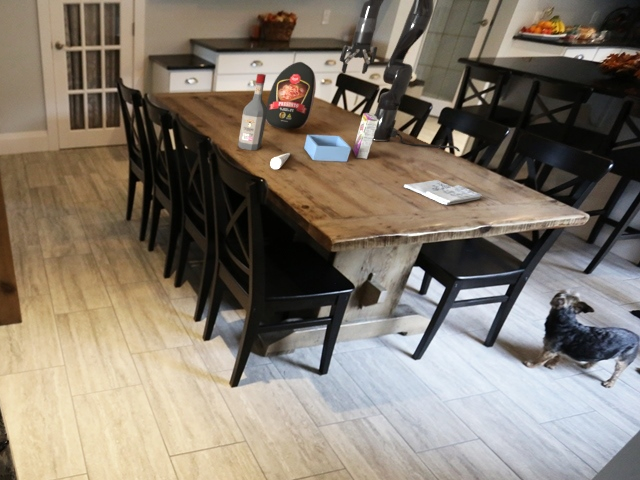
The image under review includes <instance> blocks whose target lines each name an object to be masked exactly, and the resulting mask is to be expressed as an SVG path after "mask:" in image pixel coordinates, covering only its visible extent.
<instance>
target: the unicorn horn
mask: <svg viewBox="0 0 640 480" xmlns="http://www.w3.org/2000/svg"><path fill="white" fill-rule="evenodd" d="M290 155H291V152H287V153H283V154H280V155H277V156H274V157H273V158H271V160H270V163H269V166H270V168H271V169H273V170H275V171H276V170H279V169H280V168H282V166H284V164H285V163H286V161H287V160H288V159H289V157H290Z"/></svg>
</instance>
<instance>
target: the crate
mask: <svg viewBox="0 0 640 480" xmlns="http://www.w3.org/2000/svg"><path fill="white" fill-rule="evenodd" d="M303 149H304V150H305V151H306V154H308V156H309V157H310V158H311V159H312V161H321V162H343V163H344V162H348V159H349V155H350V153H351V149H352V147H351V146H350V145H349V144H348V143H347V142H346V141H345V140H344V139H343V138H342V136H340V135H326V134H325V135H324V134H306V138H305V142H304V148H303Z"/></svg>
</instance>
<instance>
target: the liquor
mask: <svg viewBox="0 0 640 480" xmlns="http://www.w3.org/2000/svg"><path fill="white" fill-rule="evenodd" d="M266 76H267V74H265V73H257V75H256V80H255V87H254V94H253V96H252V99H251V100H250V101H249V103H247V104H246V105H245V106H244V108H243V111H242V118H241V125H240V129H239V130H240V131H239V137H238V142H237V143H238V144H237V145H238V148H240V149H241V150H246V151H257V150H259V149H260V148H261V147H262V143H263V137H264V132H265V126H266V122H267V121H266V116H267V104H266V103H265V102H264V100H263V93H264V92H263V91H264V85H265V82H266Z"/></svg>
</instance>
